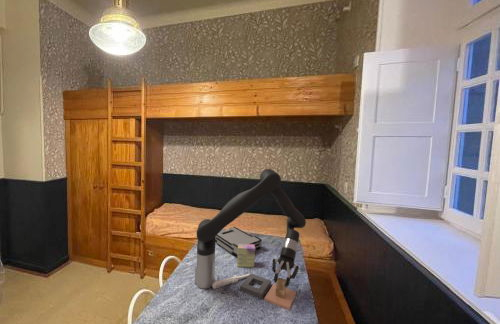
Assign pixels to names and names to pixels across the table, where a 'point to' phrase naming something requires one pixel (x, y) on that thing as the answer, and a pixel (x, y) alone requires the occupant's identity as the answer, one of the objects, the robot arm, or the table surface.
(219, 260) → the table surface
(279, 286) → the oak block
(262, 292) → the pocket frame
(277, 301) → the terracotta tile
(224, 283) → the toothed blade
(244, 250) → the box
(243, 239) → the game console
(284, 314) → the table surface
